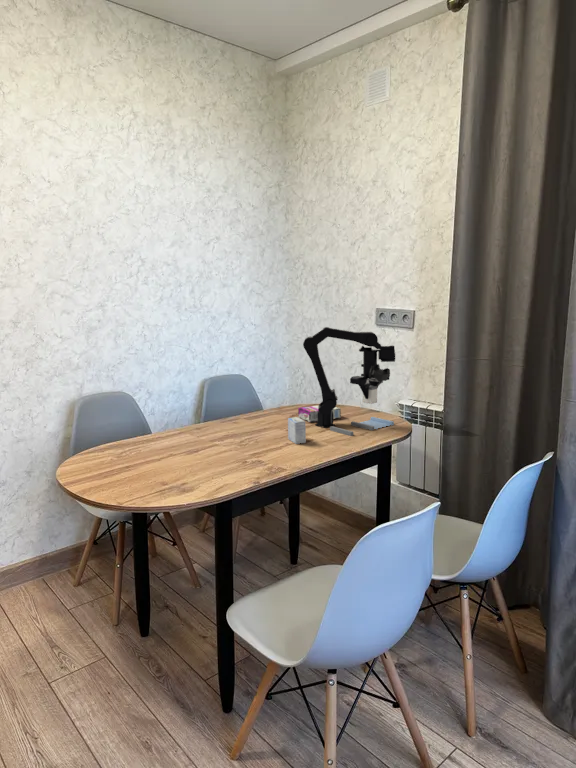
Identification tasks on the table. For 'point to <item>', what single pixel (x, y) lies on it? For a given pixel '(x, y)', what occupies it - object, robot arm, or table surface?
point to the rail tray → (365, 425)
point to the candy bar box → (315, 413)
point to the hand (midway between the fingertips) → (369, 398)
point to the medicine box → (296, 430)
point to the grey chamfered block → (371, 395)
